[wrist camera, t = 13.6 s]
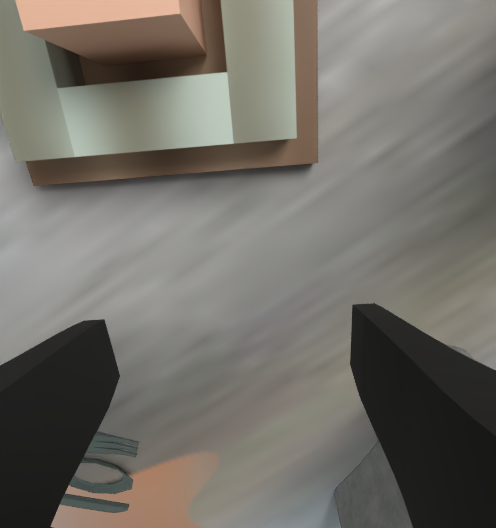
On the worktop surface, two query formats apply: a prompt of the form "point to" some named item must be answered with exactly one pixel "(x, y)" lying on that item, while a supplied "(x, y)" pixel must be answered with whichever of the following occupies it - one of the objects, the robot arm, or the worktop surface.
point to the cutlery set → (102, 445)
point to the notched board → (204, 154)
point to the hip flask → (373, 493)
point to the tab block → (118, 28)
